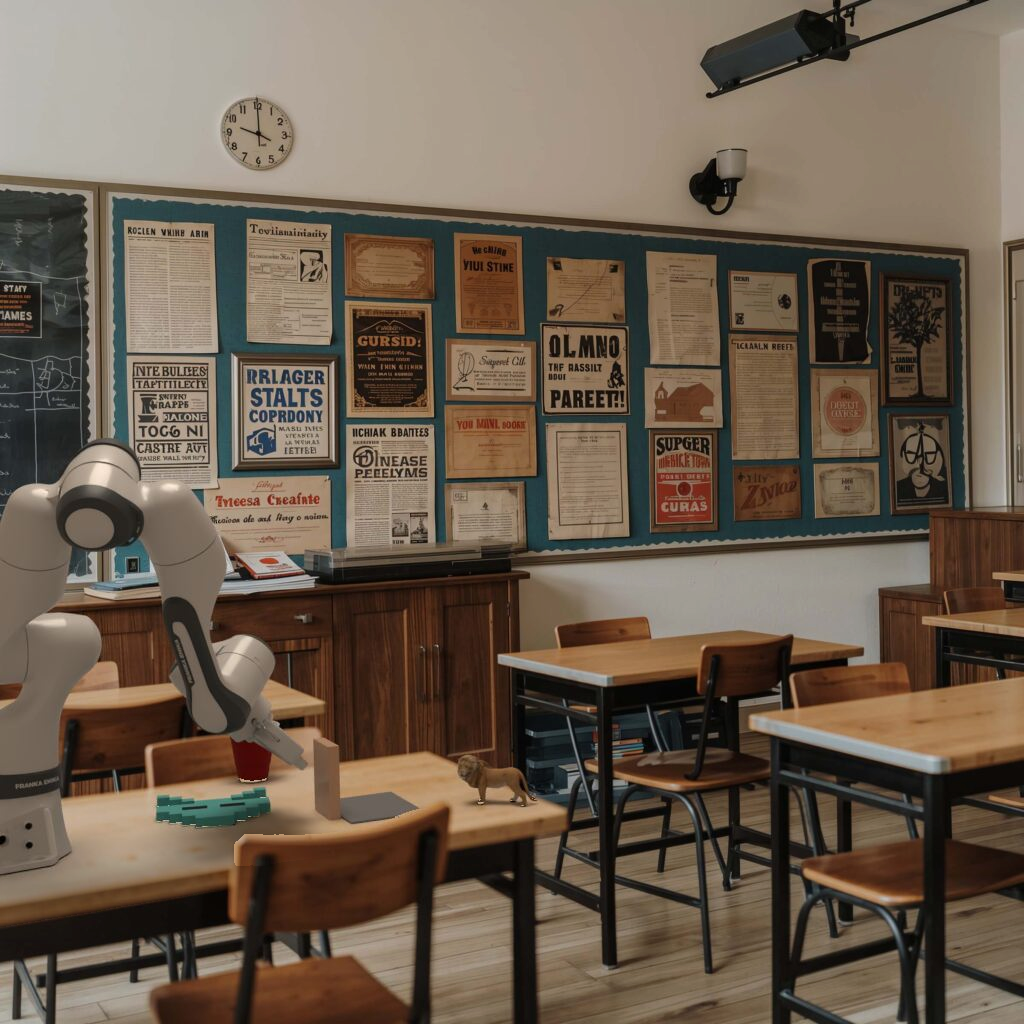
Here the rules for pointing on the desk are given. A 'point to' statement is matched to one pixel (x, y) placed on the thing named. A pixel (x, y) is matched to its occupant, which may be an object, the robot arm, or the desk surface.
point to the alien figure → (213, 808)
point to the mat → (373, 807)
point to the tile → (327, 778)
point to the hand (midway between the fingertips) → (303, 766)
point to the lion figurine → (491, 777)
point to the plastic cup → (251, 759)
